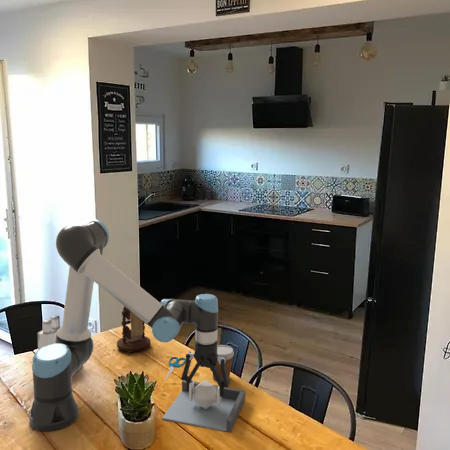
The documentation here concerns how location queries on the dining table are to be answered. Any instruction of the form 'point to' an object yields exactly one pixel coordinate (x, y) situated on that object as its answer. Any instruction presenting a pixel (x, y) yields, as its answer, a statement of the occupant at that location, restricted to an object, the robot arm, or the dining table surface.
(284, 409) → the dining table surface
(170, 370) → the scissors
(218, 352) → the disposable coffee cup
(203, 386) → the die
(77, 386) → the dining table surface
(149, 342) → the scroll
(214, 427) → the tray
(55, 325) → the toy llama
